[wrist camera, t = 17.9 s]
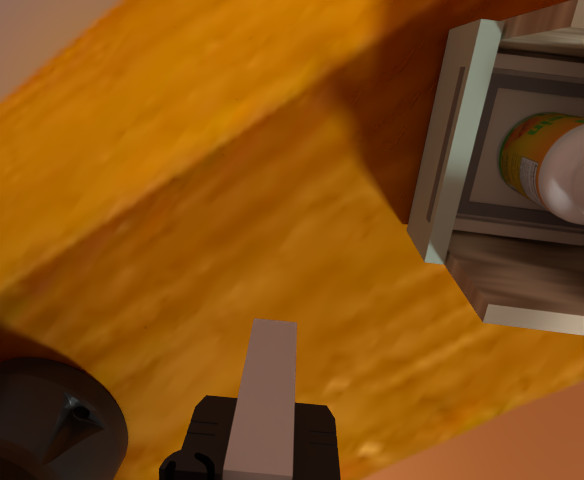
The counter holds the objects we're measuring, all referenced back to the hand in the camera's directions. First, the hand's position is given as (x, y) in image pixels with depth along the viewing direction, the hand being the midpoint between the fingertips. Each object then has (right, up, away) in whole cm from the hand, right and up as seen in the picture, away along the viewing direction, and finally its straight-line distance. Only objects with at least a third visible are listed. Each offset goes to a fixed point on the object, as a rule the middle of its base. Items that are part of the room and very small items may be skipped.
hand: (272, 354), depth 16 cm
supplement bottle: (+17, +10, +14) cm, 24 cm away
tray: (+17, +10, +15) cm, 25 cm away
